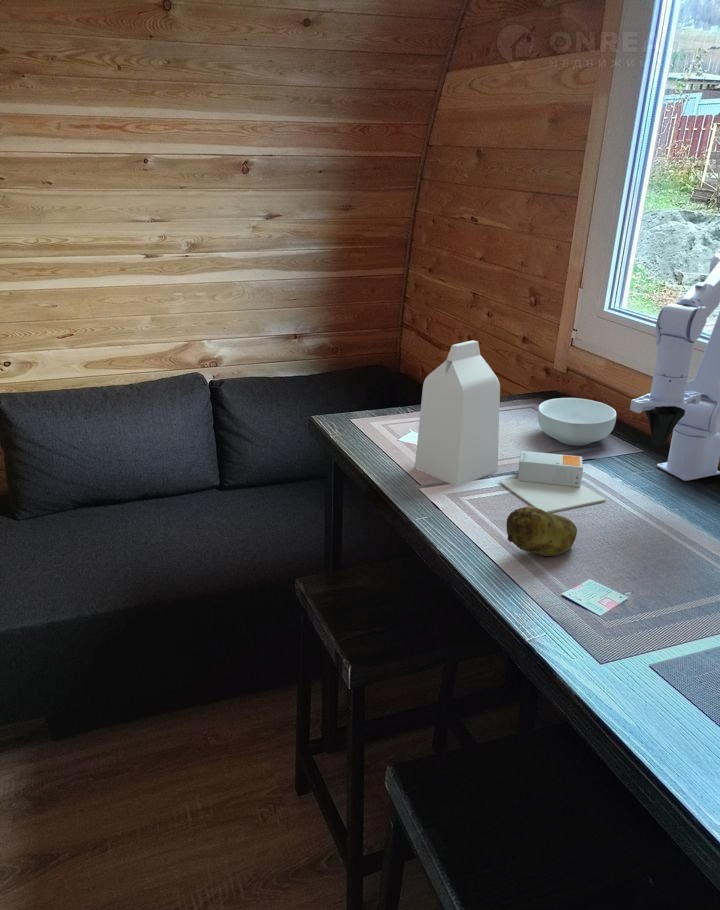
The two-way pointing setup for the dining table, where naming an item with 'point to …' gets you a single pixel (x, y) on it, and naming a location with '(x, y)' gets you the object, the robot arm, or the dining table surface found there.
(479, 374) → the milk
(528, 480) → the skincare box
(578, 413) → the cereal bowl
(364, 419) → the dining table surface
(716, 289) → the robot arm
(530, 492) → the mat
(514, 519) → the potato
